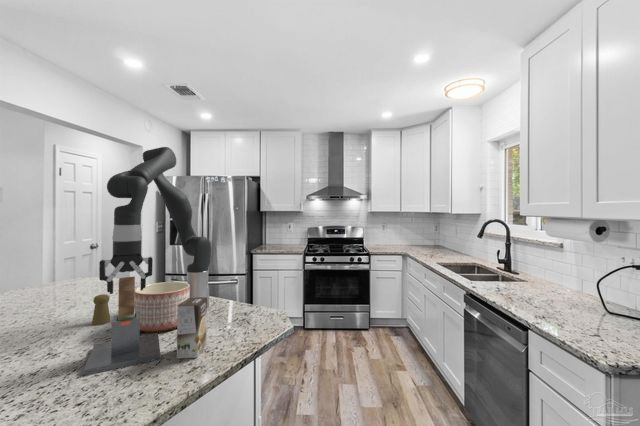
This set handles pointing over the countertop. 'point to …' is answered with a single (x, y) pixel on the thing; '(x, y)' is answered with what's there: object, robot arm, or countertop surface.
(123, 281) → the stand post
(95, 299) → the cork
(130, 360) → the stand base
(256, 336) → the countertop surface
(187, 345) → the coffee box
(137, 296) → the planter
